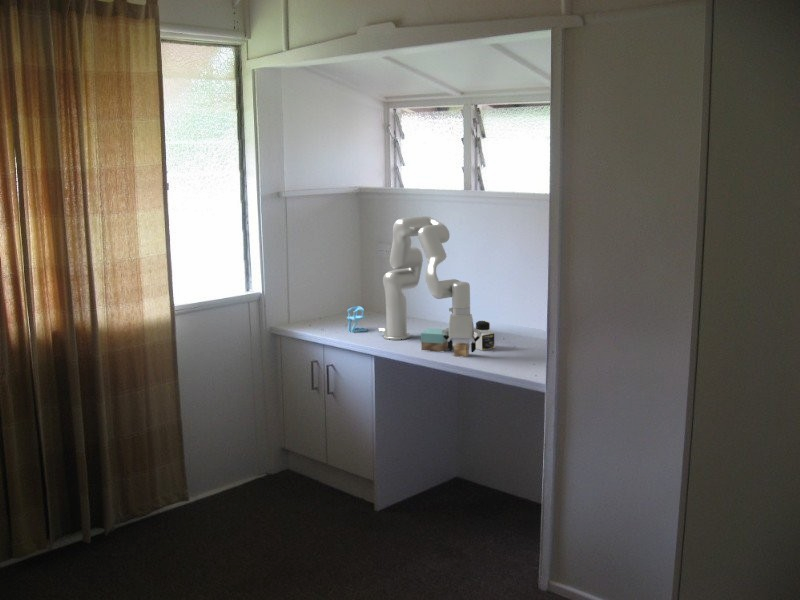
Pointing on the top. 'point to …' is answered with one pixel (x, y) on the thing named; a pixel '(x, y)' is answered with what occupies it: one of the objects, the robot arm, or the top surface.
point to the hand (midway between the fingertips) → (461, 350)
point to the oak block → (461, 349)
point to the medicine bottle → (484, 336)
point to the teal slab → (433, 336)
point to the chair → (355, 319)
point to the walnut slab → (434, 346)
